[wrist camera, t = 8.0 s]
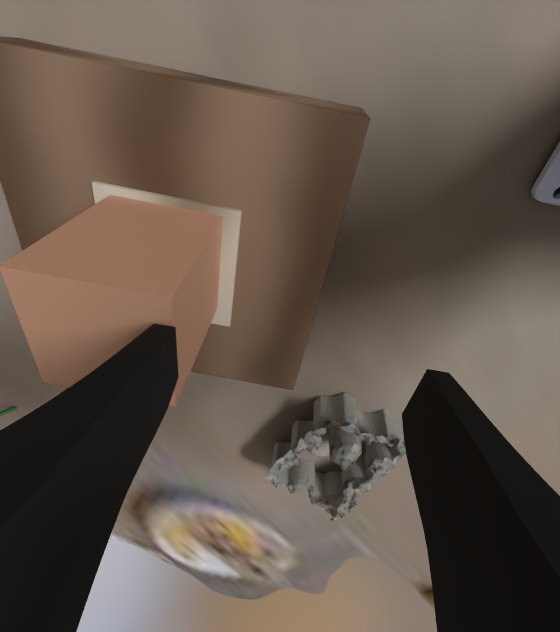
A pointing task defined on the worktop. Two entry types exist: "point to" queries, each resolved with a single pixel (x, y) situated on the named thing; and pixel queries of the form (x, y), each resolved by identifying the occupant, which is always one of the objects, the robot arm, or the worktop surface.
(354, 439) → the egg carton
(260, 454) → the worktop surface
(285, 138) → the walnut base
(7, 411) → the lily
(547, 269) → the worktop surface
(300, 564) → the worktop surface
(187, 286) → the terracotta block
